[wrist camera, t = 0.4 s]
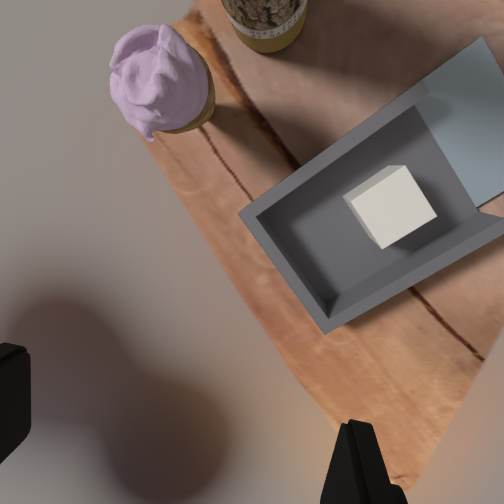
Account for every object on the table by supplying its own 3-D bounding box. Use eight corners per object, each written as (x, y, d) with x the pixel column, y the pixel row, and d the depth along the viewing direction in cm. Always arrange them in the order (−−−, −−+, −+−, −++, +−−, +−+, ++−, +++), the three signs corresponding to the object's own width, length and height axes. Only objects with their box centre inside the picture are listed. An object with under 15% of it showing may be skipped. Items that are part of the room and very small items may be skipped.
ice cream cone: (215, 160, 34) (155, 155, 19) (162, 128, 34) (62, 99, 19) (247, 97, 32) (208, 40, 17) (192, 64, 32) (105, -22, 17)
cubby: (479, 38, 28) (512, 14, 24) (557, 177, 30) (600, 179, 26) (244, 207, 34) (237, 213, 30) (321, 314, 36) (324, 334, 32)
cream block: (388, 165, 31) (405, 165, 26) (415, 208, 32) (437, 216, 27) (342, 196, 32) (350, 201, 28) (369, 237, 33) (382, 249, 28)
